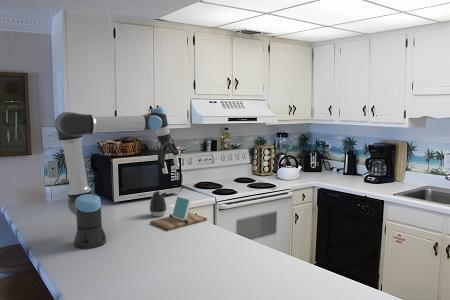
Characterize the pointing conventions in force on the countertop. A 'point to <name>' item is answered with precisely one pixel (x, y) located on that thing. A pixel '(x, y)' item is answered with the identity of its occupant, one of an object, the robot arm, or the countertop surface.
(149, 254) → the countertop surface
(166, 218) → the walnut board
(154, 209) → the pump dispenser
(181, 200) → the tile
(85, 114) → the robot arm
